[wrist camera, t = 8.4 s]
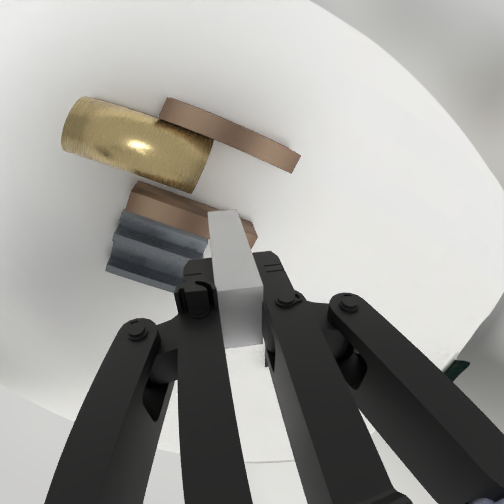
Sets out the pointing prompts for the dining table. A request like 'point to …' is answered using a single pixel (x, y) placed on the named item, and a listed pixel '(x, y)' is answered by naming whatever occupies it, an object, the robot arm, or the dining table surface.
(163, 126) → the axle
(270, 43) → the dining table surface
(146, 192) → the wooden rail pair
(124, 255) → the cradle
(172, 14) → the dining table surface
